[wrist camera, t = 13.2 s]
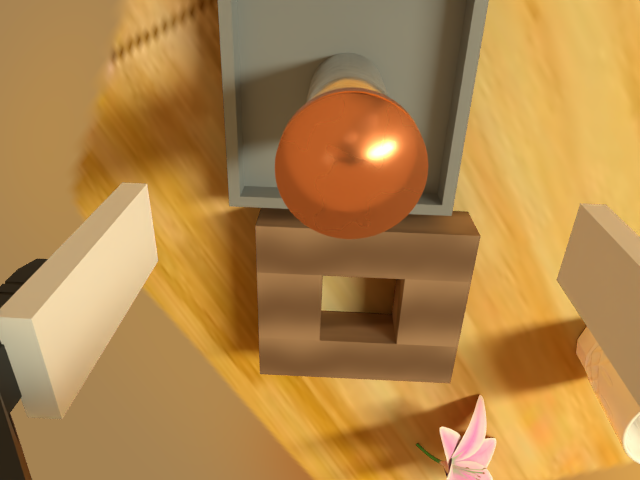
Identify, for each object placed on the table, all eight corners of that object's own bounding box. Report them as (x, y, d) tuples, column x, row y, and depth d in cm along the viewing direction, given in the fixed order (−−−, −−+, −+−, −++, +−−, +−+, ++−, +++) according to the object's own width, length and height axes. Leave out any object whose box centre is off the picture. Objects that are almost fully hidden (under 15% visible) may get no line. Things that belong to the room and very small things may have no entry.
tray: (225, -47, 32) (214, -49, 29) (482, -38, 32) (495, -38, 29) (236, 190, 40) (229, 206, 37) (444, 199, 39) (451, 216, 37)
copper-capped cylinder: (300, 39, 33) (273, 90, 20) (398, 43, 33) (438, 97, 20) (298, 135, 36) (275, 235, 23) (389, 139, 36) (418, 242, 23)
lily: (476, 474, 56) (542, 533, 47) (379, 506, 52) (433, 577, 43) (475, 371, 54) (545, 413, 45) (374, 396, 50) (429, 447, 41)
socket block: (262, 203, 40) (255, 226, 36) (468, 211, 40) (480, 236, 36) (266, 343, 47) (260, 374, 43) (441, 351, 46) (450, 383, 43)
